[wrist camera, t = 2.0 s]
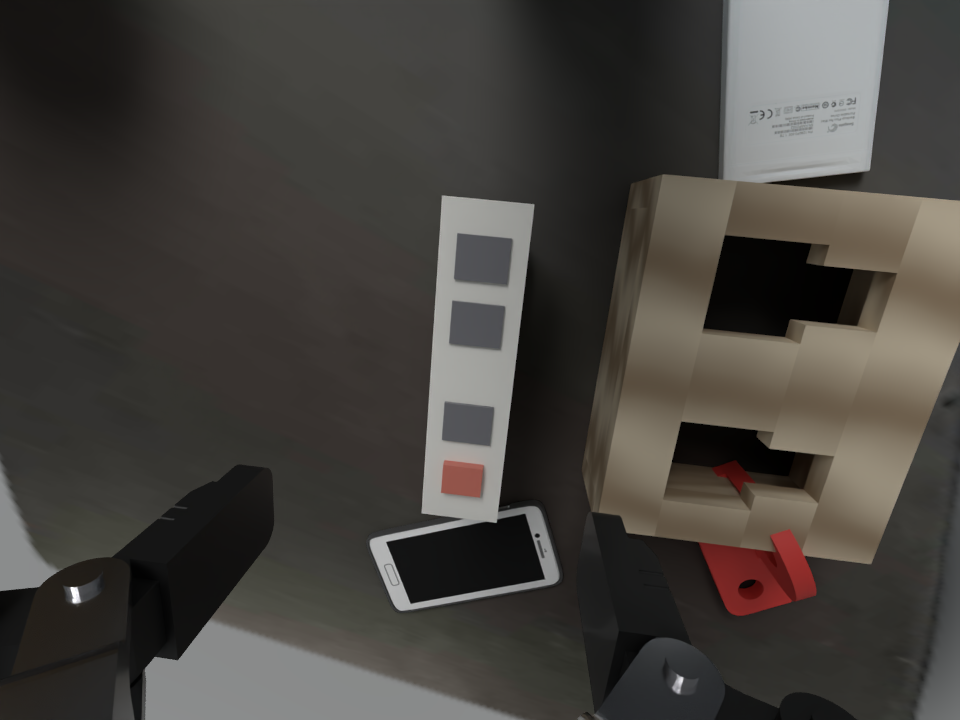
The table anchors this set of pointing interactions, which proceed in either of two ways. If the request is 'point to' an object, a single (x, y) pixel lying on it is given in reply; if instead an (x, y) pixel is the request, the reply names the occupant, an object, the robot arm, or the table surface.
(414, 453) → the table surface
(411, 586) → the cell phone
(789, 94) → the external hard drive
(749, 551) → the bracket
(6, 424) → the table surface
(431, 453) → the power strip
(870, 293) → the wooden block with holes
